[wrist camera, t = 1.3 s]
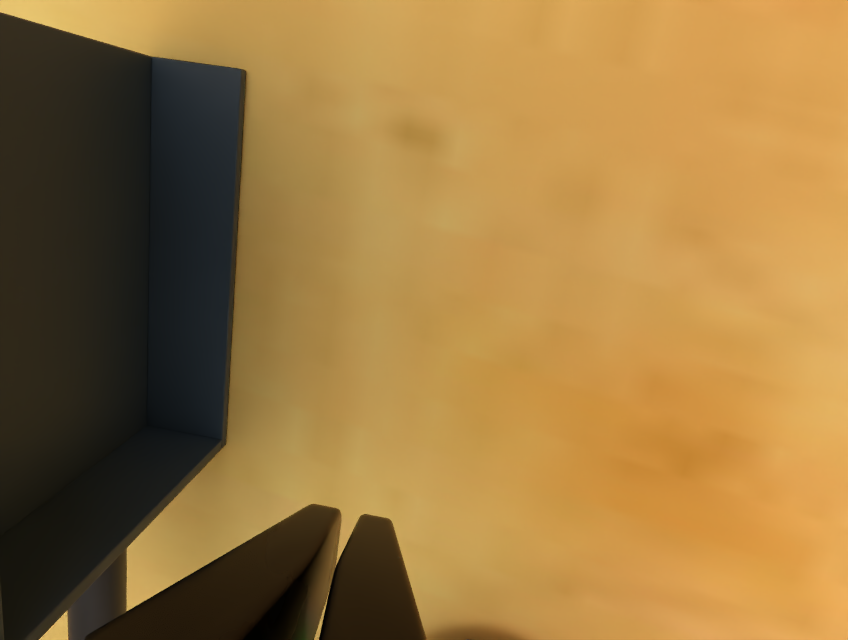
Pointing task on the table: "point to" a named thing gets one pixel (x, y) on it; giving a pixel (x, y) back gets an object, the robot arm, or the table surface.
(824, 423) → the table surface
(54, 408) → the dustpan
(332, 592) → the robot arm
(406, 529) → the table surface
